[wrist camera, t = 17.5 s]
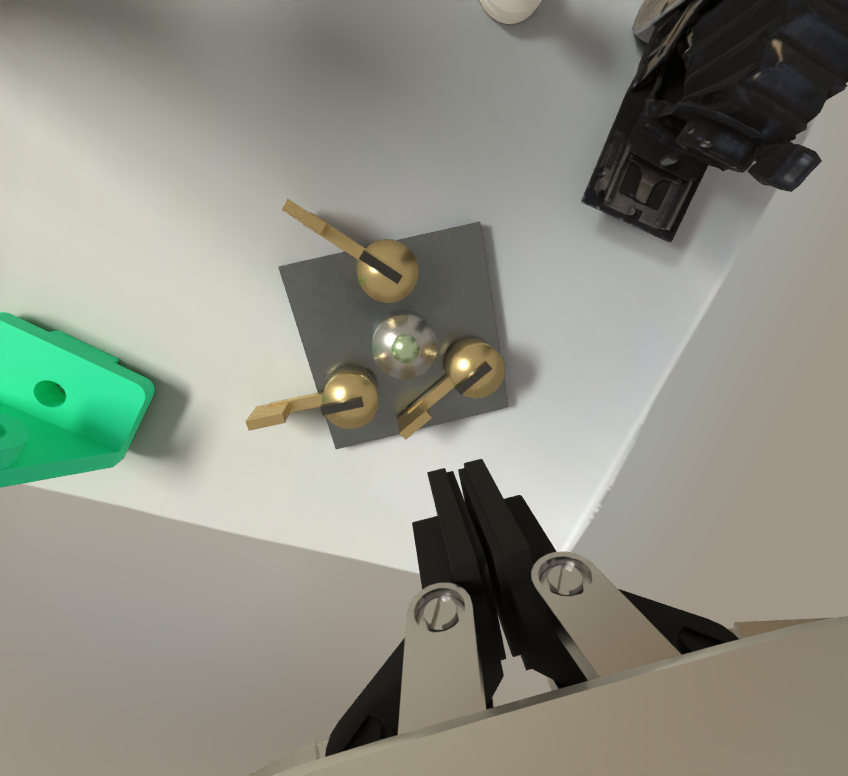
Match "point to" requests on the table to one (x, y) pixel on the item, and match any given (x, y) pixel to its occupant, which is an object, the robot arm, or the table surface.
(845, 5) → the vintage camera
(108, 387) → the camera mount
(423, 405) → the foot screw
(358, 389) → the foot screw
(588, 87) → the table surface
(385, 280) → the foot screw
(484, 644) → the robot arm
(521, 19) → the chess pawn
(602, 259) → the table surface
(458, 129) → the table surface
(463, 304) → the levelling plate
